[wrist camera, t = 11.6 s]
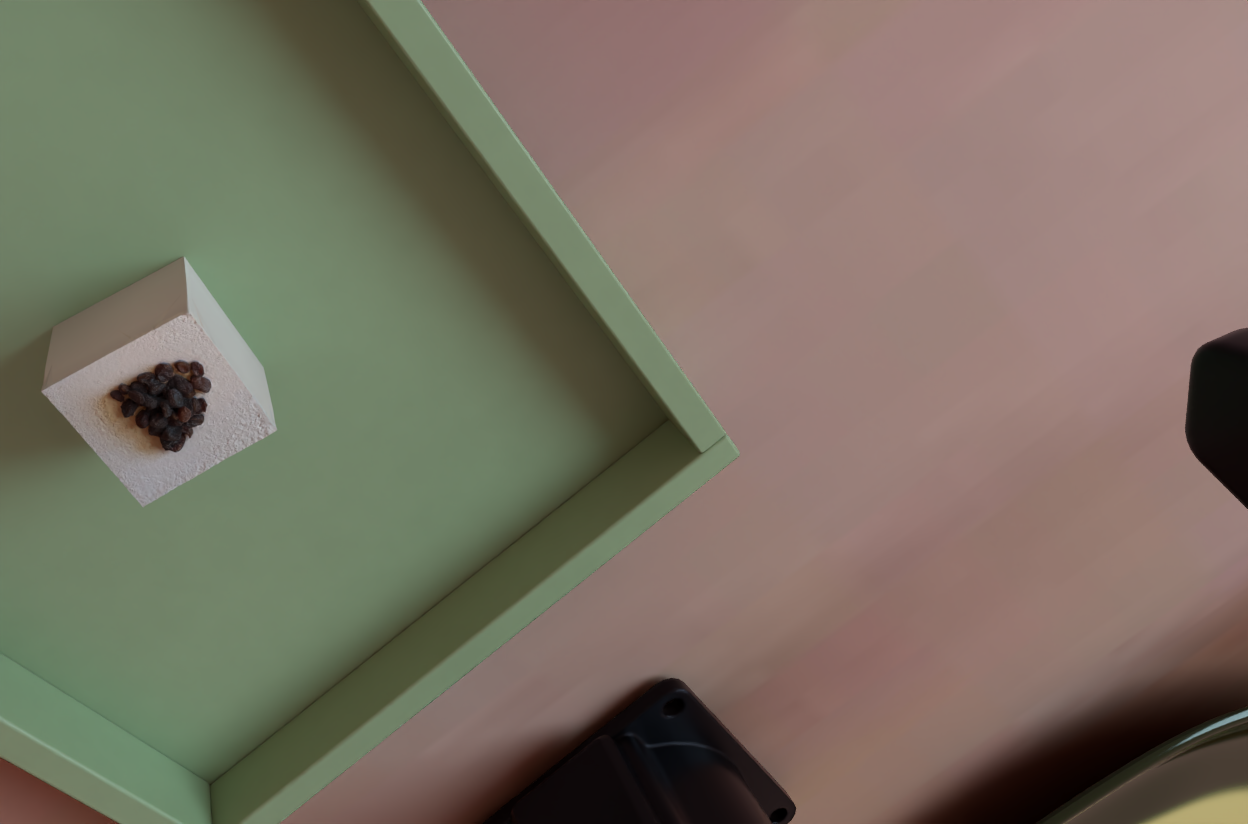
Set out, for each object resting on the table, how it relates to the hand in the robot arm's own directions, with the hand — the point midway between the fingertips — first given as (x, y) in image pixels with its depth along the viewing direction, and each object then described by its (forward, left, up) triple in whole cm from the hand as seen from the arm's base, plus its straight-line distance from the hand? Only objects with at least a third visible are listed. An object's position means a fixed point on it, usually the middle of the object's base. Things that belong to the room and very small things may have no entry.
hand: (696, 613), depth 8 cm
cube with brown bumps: (0, +4, -11) cm, 12 cm away
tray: (0, +4, -11) cm, 12 cm away
